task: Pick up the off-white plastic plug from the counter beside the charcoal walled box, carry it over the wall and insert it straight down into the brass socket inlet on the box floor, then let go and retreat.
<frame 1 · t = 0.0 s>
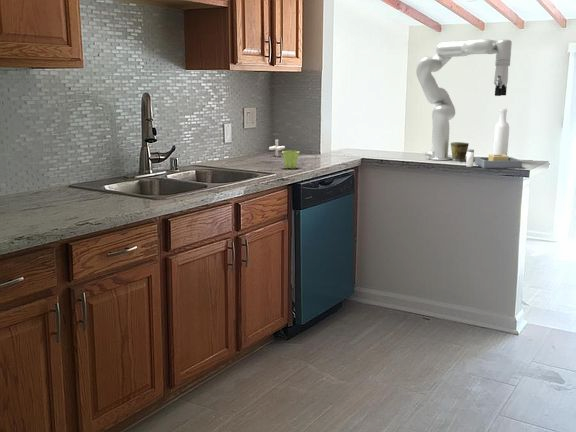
hand: (500, 95, 340), 37 cm above the worktop, tool pointing down, fingers open, 9 cm apart
plant pot: (290, 168, 332), on the worktop
bottle: (499, 162, 353), on the worktop
pipe connector: (276, 156, 380), on the worktop
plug: (469, 166, 337), on the worktop
ceramic cup: (457, 161, 359), on the worktop
box: (497, 166, 336), on the worktop
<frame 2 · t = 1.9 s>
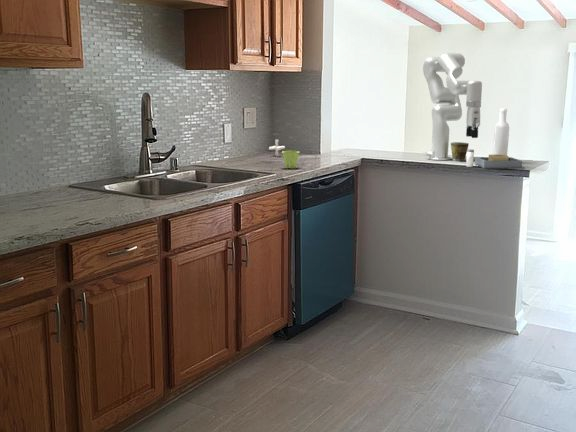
hand: (471, 137, 333), 16 cm above the worktop, tool pointing down, fingers open, 9 cm apart
nothing on the worktop moved.
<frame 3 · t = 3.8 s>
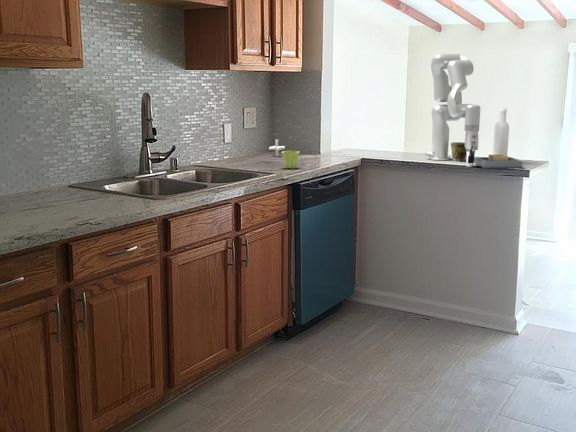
hand: (469, 162, 336), 2 cm above the worktop, tool pointing down, fingers closed on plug, 3 cm apart
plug: (469, 166, 337), on the worktop, touching gripper
everything else where it was.
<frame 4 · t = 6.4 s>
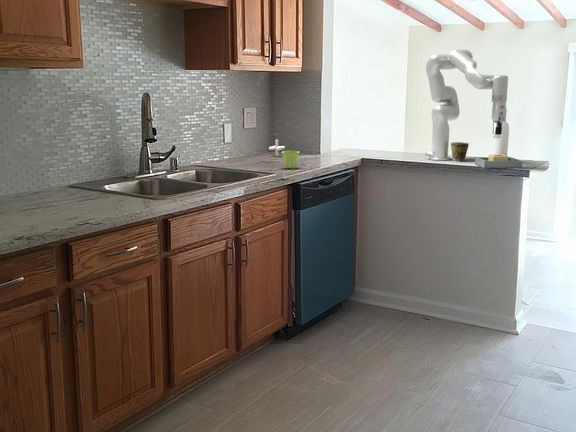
hand: (497, 133, 332), 18 cm above the worktop, tool pointing down, fingers closed on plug, 3 cm apart
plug: (496, 138, 332), point 15 cm above the worktop, touching gripper
everything else where it was.
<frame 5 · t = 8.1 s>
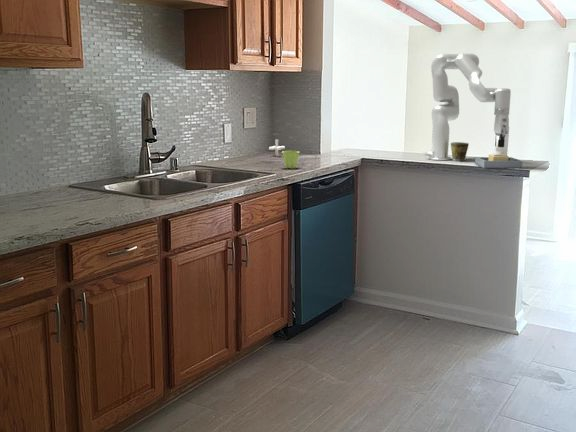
hand: (499, 146, 333), 11 cm above the worktop, tool pointing down, fingers closed on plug, 3 cm apart
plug: (499, 150, 334), point 9 cm above the worktop, touching gripper
everything else where it was.
when the fingers open (7 cm above the worktop, at t = 9.3 s): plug drops 4 cm, resting on box.
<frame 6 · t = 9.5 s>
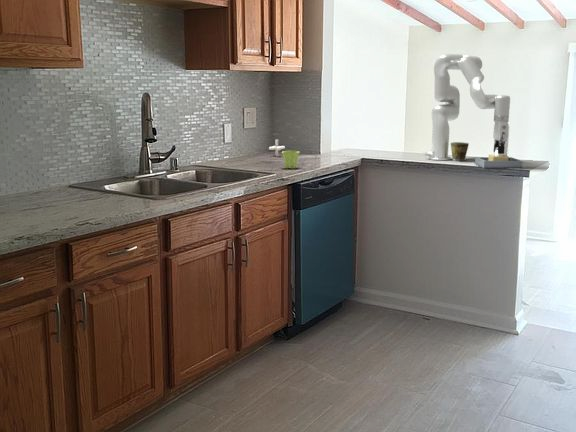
hand: (498, 152, 334), 8 cm above the worktop, tool pointing down, fingers open, 6 cm apart
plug: (497, 164, 336), point 1 cm above the worktop, touching box
everything else where it was.
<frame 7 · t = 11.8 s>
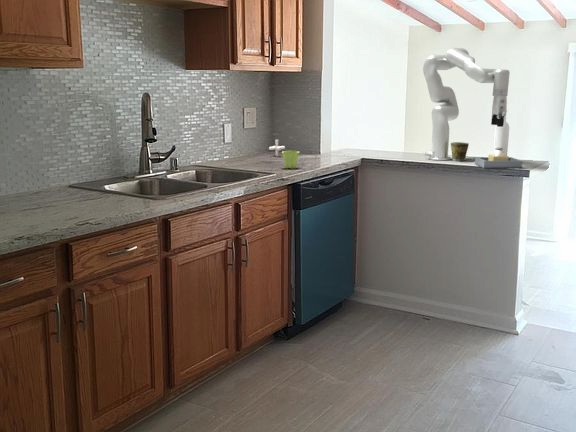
hand: (497, 125, 334), 22 cm above the worktop, tool pointing down, fingers open, 9 cm apart
nothing on the worktop moved.
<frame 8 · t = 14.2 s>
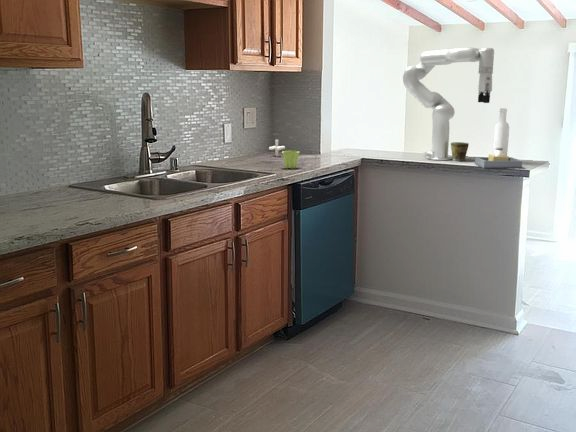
hand: (483, 102, 347), 33 cm above the worktop, tool pointing down, fingers open, 9 cm apart
nothing on the worktop moved.
at the end: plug 0.2 cm off-centre on the box, point 1.0 cm above the box's base; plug tilted 1°; the gripper is holding nothing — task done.
